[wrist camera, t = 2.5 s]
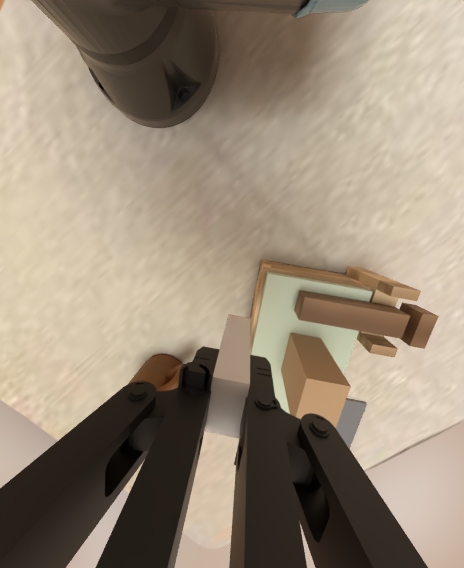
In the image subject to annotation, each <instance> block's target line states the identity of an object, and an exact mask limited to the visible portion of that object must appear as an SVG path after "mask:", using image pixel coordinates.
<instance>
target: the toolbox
mask: <svg viewBox="0 0 464 568" xmlns="http://www.w3.org/2000/svg"><path fill="white" fill-rule="evenodd" d="M267 271H268V272H273V273H279V274H285V275H291V276H297V277H302V278H308V279H314V280H320V281H326V282H331V283H337V284H343V285H349V286H355V287H360V288H366V289H369V290H370V291H372V295H371V298H370V301H369V302H370V303H376V304H382V305H388V306H393V307H395V306H396V303H397V300H398V298H403V299H408V300H414V301H417V300H418V297H419V295H420V292H421V291H419V290H417V289H414V288H412V287H409V286H407V285H404V284H402V283H399V282H396V281H394V280H391V279H389V278H386V277H384V276H381V275H378V274H376V273H373V272H371V271H368V270H365V269H359V268H353V267H348V268H347V272H346V274H342V273H336V272H330V271H324V270H318V269H312V268H306V267H301V266H295V265H289V264H283V263H277V262H271V261H265V260H261V264H260V269H259V274H258V280H257V285H256V290H255V295H254V300H253V305H252V310H251V315H250V353H251V348H252V343H253V338H254V333H255V328H256V323H257V319H258V314H259V309H260V304H261V299H262V294H263V289H264V284H265V279H266V275H267ZM357 340H358V341H359V342H360V343H361V344H362V345H363V346H364V347H365V348H366V349H367V350H368V352H369V353H373V354H379V355H384V356H390V357H395V354H396V352H397V348H396V347H395V346H394V345H393V344H391V343H390V342H389V341H388V340H387V339H386V338H384V335H379V334H373V333H368V332H362V331H359V333H358V336H357Z"/></svg>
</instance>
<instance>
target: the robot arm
mask: <svg viewBox="0 0 464 568" xmlns="http://www.w3.org/2000/svg"><path fill="white" fill-rule="evenodd" d="M32 1H33V2H34V3H35V4H36V5H37V6H38V7H39V8H40V9H41V10H42V11H43V12H44V13H45V14H46V15H47V16H48V17H49V18H50V19H51V20H52V21H53V22H54V23H55V24H56V25H57V26H58V27H59V28H60V29H61V30H62V31H63V32H64V33H65V34H66V35H67V36H68V37H69V39H70V40H71V41H72V42H73V43H74V44H75V45H76V46H77V48H78V50H79V52H80V54H81V56H82V58H83V60H84V61H85V63H86V65H87V66H88V68H89V70H90V72H91V74H92V76H93V78H94V80H95V82H96V84H97V85H98V87H99V89H100V90H101V91H102V93H103V94H104V95H105V96H106V98H107V99H108V100H109V101H110V102H111V103H112V104H113V105H114V106H115V107H116V108H117V109H119V110H120V111H121V112H122V113H123V114H124V115H126V116H127V117H128V118H130V119H131V120H133V121H135V122H137V123H139V124H142V125H145V126H149V127H156V128H161V127H169V126H173V125H176V124H178V123H181V122H183V121H184V120H186V119H188V118H189V117H190V116H192V115H193V114H194V113H195V112H196V111H197V110H198V109H199V108H200V106H201V105H202V104H203V103H204V101H205V100H206V98H207V96H208V94H209V92H210V90H211V88H212V85H213V83H214V80H215V76H216V71H217V66H218V39H217V33H216V27H215V22H214V17H213V13H212V10H235V11H254V12H270V13H285V14H292V16H294V17H295V18H301V17H304V16H305V15H307V14H311V13H327V12H348V11H352V10H355V9H357V8H359V7H361V6H363V5H364V4H366V3H367V2H368V1H370V0H32ZM204 431H206V432H211V433H216V434H221V435H226V436H231V437H236V438H239V444H238V449H237V453H236V458H235V463H234V465H236V475H235V490H234V506H233V521H232V536H231V551H230V552H231V553H230V566H229V568H307V565H306V559H305V553H304V547H303V540H302V535H301V528H300V524H301V526H302V529H303V532H304V535H305V538H306V541H307V544H308V547H309V550H310V553H311V556H312V558H313V562H314V565H315V567H316V568H428V567H427V566H426V564H425V563H424V561H423V559H422V558H421V556H420V555H419V553H418V552H417V550H416V549H415V547H414V546H413V544H412V543H411V541H410V540H409V538H408V537H407V535H406V534H405V532H404V531H403V529H402V528H401V526H400V525H399V523H398V522H397V520H396V519H395V517H394V516H393V514H392V513H391V511H390V510H389V508H388V507H387V505H386V504H385V502H384V501H383V499H382V498H381V496H380V495H379V493H378V491H377V490H376V488H375V487H374V486H373V484H372V482H371V481H370V480H369V478H368V476H367V475H366V473H365V472H364V470H363V469H362V467H361V466H360V464H359V463H358V461H357V460H356V458H355V457H354V455H353V454H352V452H351V451H350V449H349V448H348V446H347V445H346V443H345V442H344V440H343V439H342V437H341V436H340V434H339V433H338V431H337V430H336V428H335V427H334V426H333V425H332V423H331V422H330V421H328V420H327V419H326V418H324V417H322V416H320V415H318V414H313V413H308V414H305V415H304V416H303V417H302V418H301V419H299V418H297V417H295V416H293V415H291V414H289V413H287V412H286V411H284V410H283V409H282V408H281V405H280V403H279V401H278V400H277V399H276V397H275V392H274V385H273V378H272V372H271V364H270V363H269V361H268V360H267V358H265V357H260V356H254V355H250V318H245V317H240V316H234V315H228V319H227V323H226V327H225V331H224V335H223V338H222V342H221V346H220V350H219V349H214V348H208V347H202V348H200V349H199V350H198V351H197V353H196V355H195V358H194V359H193V362H190V363H187V364H185V365H183V366H182V367H181V368H180V374H179V383H178V387H177V388H175V389H172V390H168V391H156V388H155V386H154V385H153V384H151V383H150V382H146V381H136V382H133V383H130V384H128V385H126V386H125V387H123V388H122V389H121V390H120V391H118V392H117V393H116V394H115V395H113V396H112V397H111V398H110V399H109V400H107V401H106V402H105V403H104V404H103V405H101V406H100V407H99V408H98V409H96V410H95V411H94V412H93V413H92V414H90V415H89V416H88V417H87V418H86V419H84V420H83V421H82V422H81V423H79V424H78V425H77V426H76V427H75V428H73V429H72V430H71V431H70V432H68V433H67V434H66V435H65V436H64V437H62V438H61V439H60V440H59V441H58V442H56V443H55V444H54V445H53V446H51V447H50V448H49V449H48V450H47V451H45V452H44V453H43V454H42V455H41V456H39V457H38V458H37V459H36V460H34V461H33V462H32V463H31V464H30V465H28V466H27V467H26V468H25V469H23V470H22V471H21V472H20V473H19V474H17V475H16V476H15V477H14V478H13V479H11V480H10V481H9V482H8V483H7V484H5V485H4V486H3V487H2V488H0V568H66V566H67V565H68V564H69V562H70V561H71V560H72V558H73V557H74V555H75V554H76V553H77V551H78V550H79V549H80V547H81V546H82V544H83V543H84V542H85V540H86V539H87V538H88V536H89V535H90V533H91V532H92V531H93V529H94V528H95V527H96V525H97V524H98V522H99V521H100V520H101V518H102V517H103V516H104V514H105V513H106V512H107V510H108V509H109V507H110V506H111V505H112V503H113V502H114V501H115V499H116V498H117V496H118V495H119V494H120V492H121V491H122V490H123V488H124V487H125V485H126V484H127V483H128V481H129V480H130V479H131V477H132V476H133V475H134V473H135V472H136V470H137V469H138V468H139V466H140V465H141V464H142V462H143V461H144V462H143V465H142V467H141V469H140V471H139V473H138V476H137V478H136V480H135V482H134V484H133V487H132V489H131V491H130V493H129V496H128V498H127V500H126V503H125V505H124V507H123V509H122V511H121V513H120V515H119V518H118V520H117V522H116V524H115V526H114V529H113V531H112V533H111V535H110V537H109V540H108V542H107V544H106V546H105V548H104V551H103V553H102V555H101V557H100V559H99V562H98V564H97V566H96V568H174V566H175V562H176V557H177V553H178V548H179V544H180V539H181V535H182V531H183V526H184V522H185V517H186V513H187V508H188V504H189V499H190V495H191V490H192V486H193V481H194V477H195V473H196V468H197V464H198V459H199V455H200V450H201V446H202V440H203V434H204ZM239 433H240V437H239ZM144 459H145V460H144ZM299 521H300V522H299Z"/></svg>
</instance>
